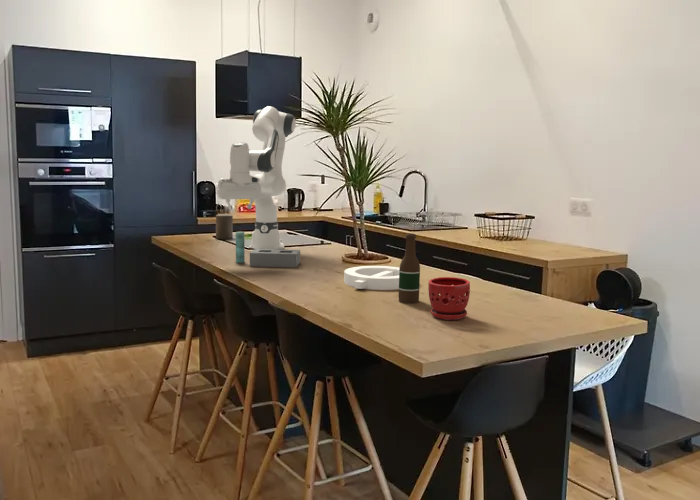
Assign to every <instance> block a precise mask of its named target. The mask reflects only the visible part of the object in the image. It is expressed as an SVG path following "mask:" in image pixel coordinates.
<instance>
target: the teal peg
mask: <svg viewBox="0 0 700 500" xmlns="http://www.w3.org/2000/svg"><path fill="white" fill-rule="evenodd" d="M245 254H246V253H245V232H244V231H235V263H237V264H243V263H246V262H245Z"/></svg>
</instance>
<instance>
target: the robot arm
mask: <svg viewBox="0 0 700 500" xmlns="http://www.w3.org/2000/svg"><path fill="white" fill-rule="evenodd" d="M296 127H297V120H296V117H295V115H293V114H291V113H286V112H282V111H279V110H278V109H277V108H275V107H274V106H271V105H270V106H269V105H267V106H266V107H264V108H262V109H257V110H256V111H255V112H254V114H253V119H252V128H251V129H252V130H251V131H252V133H253V135H254V137H255V138H256V139H257V140H259V141H260V142H262V143H263V146H262V150H254V149H252V150H251V149H250V148H249V144H248V143H246V142H242V141H241V142H234V143H232V144H231V147H230V153H229V165H230V170H229V178H221V179H219V181H217V182H218V183H217V184H218V185H217V186H218V190H217V197H218V199H219V200H225V203H226V205H227V209H228V210H233V209H234V208H233V205H232V204H231V203H230V202H231V200H249V203H248V204H247V205H246V208H247V210H252V207H253V204H254V206H255V221H254V228H255V229H254V230H253V231H252V233H251V244H250V245H249V246H248V248H249V249H253V250H254V249H284V250H285V246H284V245H285V244H284V243H283V242H282V239H281V232H280V231H279V222H278V208H277V205H276V203H275V202H274V199H273V197H277V196H281V195H282V194H283V193H285V191H286V189H287V183H286V180H285V179H284V176H283V171H282V168H283V167H282V165H283V158H284V154H285V153H284V152H285V148H286V147H285V146H286V138H287V137H288V136H290V135H292V134H293V133H294V131H295V129H296ZM250 172H262V173H257V174H252V175H251V174H250Z"/></svg>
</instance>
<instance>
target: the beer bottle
mask: <svg viewBox="0 0 700 500" xmlns="http://www.w3.org/2000/svg"><path fill="white" fill-rule="evenodd" d="M405 238H406V240H405V251H404V256H403V257H402V259H401V261H400V263H399V264H400V265H399V268H400V269H399V289H398V302H399V303H402V304H416V303H419V302H420V301H419V300H420V280H421V279H420V278H421V267H420V266H421V264H420V261H419V259H418V257H417V253H416V238H417V236H416V233H411V232H410V233H406V234H405Z"/></svg>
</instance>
